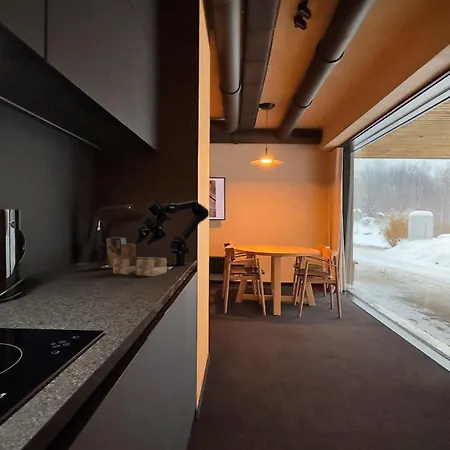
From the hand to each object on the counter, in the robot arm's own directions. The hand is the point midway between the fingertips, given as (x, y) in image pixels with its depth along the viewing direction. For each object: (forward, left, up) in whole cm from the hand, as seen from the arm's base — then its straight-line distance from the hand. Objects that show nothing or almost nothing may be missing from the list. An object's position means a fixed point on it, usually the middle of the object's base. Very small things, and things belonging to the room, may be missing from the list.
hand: (141, 244), depth 202 cm
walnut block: (+7, -4, -10) cm, 13 cm away
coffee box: (-10, -18, -14) cm, 24 cm away
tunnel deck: (+9, +2, -13) cm, 16 cm away
